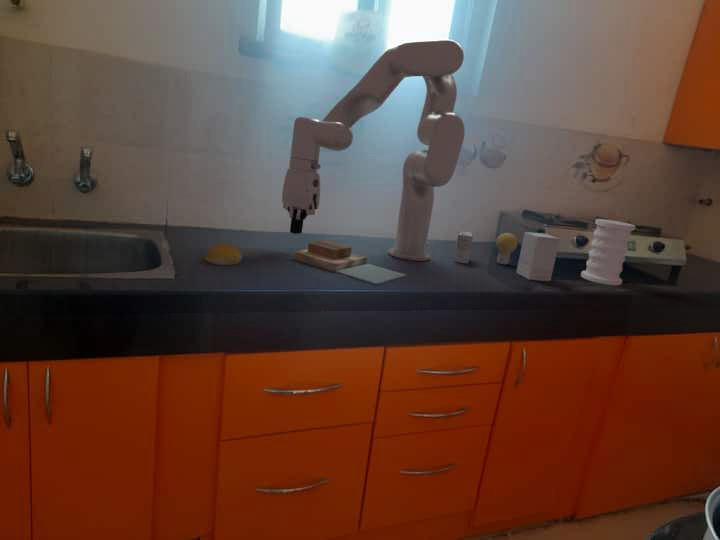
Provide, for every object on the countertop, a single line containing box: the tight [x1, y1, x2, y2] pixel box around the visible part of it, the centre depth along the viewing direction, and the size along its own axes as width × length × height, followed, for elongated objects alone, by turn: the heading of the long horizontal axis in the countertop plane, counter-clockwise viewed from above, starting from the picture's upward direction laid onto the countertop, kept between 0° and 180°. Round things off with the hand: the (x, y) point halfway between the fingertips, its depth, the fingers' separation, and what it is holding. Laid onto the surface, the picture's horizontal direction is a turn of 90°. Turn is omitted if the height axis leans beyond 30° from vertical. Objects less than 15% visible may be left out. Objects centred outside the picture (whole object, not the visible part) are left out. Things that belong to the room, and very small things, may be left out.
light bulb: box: [495, 232, 518, 266], centre depth 157 cm, size 6×6×10 cm
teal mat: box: [335, 263, 407, 286], centre depth 126 cm, size 14×12×1 cm
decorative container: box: [580, 218, 636, 286], centre depth 152 cm, size 12×12×18 cm
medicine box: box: [453, 230, 473, 265], centre depth 155 cm, size 8×4×9 cm, turn 168°
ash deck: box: [292, 248, 368, 273], centre depth 133 cm, size 14×14×2 cm
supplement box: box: [515, 231, 561, 282], centre depth 144 cm, size 7×7×13 cm
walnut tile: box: [307, 239, 352, 260], centre depth 132 cm, size 7×9×2 cm
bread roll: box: [204, 243, 243, 266], centre depth 120 cm, size 8×9×4 cm
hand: (295, 232), depth 138 cm, fingers closed
